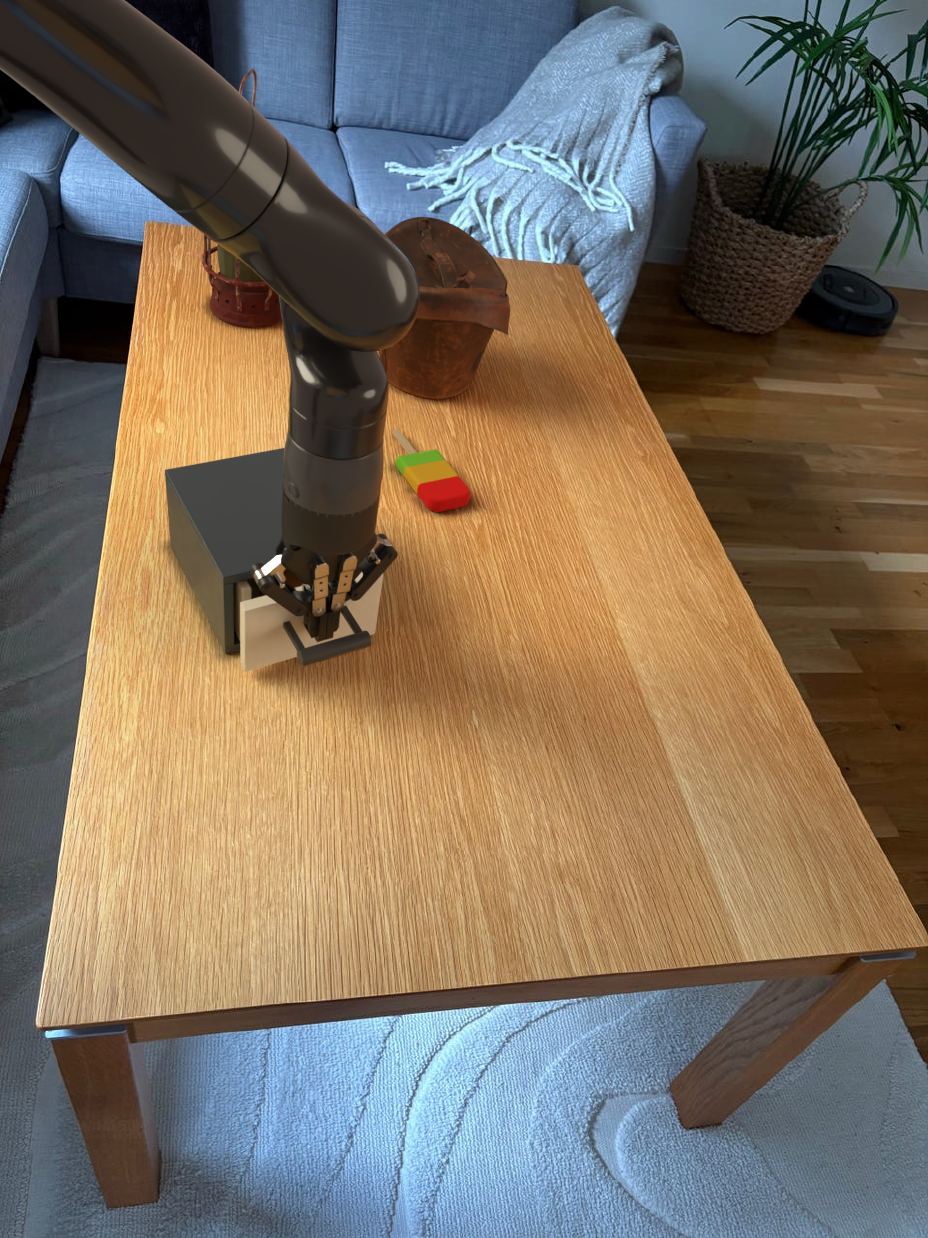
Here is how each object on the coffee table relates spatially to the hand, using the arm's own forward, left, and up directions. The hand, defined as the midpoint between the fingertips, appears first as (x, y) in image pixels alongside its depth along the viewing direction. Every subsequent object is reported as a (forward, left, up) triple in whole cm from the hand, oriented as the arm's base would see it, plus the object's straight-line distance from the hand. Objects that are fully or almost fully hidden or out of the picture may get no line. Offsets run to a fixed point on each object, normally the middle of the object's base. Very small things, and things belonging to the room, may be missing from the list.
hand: (320, 633), depth 83 cm
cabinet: (0, +13, -5) cm, 13 cm away
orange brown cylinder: (0, +7, -2) cm, 7 cm away
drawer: (0, +6, -4) cm, 7 cm away
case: (+35, +43, -5) cm, 55 cm away
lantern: (+18, +65, -5) cm, 67 cm away
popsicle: (+24, +24, -5) cm, 34 cm away
